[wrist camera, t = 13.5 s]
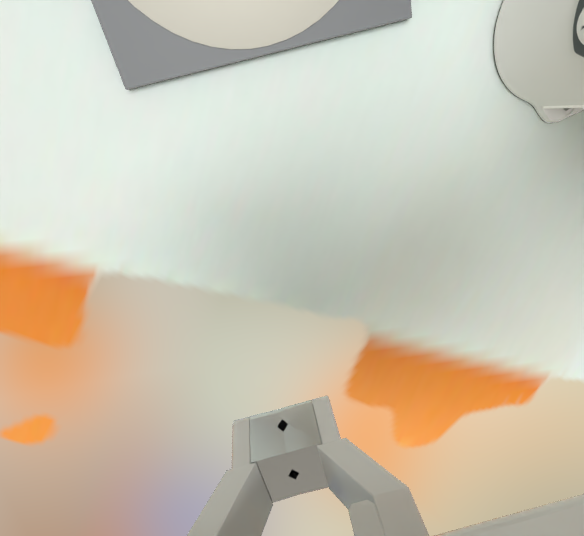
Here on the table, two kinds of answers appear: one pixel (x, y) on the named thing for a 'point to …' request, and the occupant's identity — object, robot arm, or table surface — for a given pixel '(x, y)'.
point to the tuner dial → (225, 31)
